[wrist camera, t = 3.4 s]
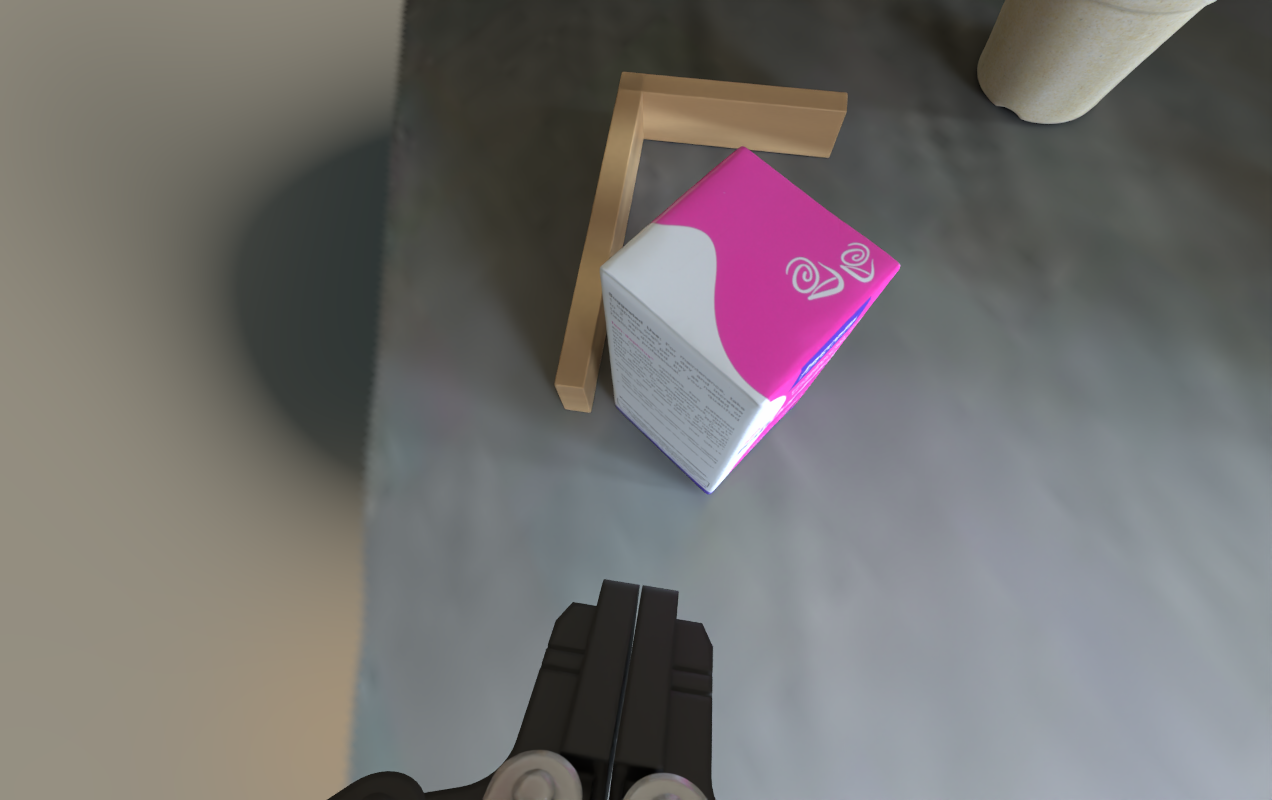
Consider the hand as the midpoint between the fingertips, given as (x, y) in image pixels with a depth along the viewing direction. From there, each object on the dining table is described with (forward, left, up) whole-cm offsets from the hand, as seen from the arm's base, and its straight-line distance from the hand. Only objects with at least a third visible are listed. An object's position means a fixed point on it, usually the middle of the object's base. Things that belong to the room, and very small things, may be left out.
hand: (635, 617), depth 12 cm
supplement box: (-8, -4, -12) cm, 15 cm away
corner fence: (-13, -9, -12) cm, 20 cm away
